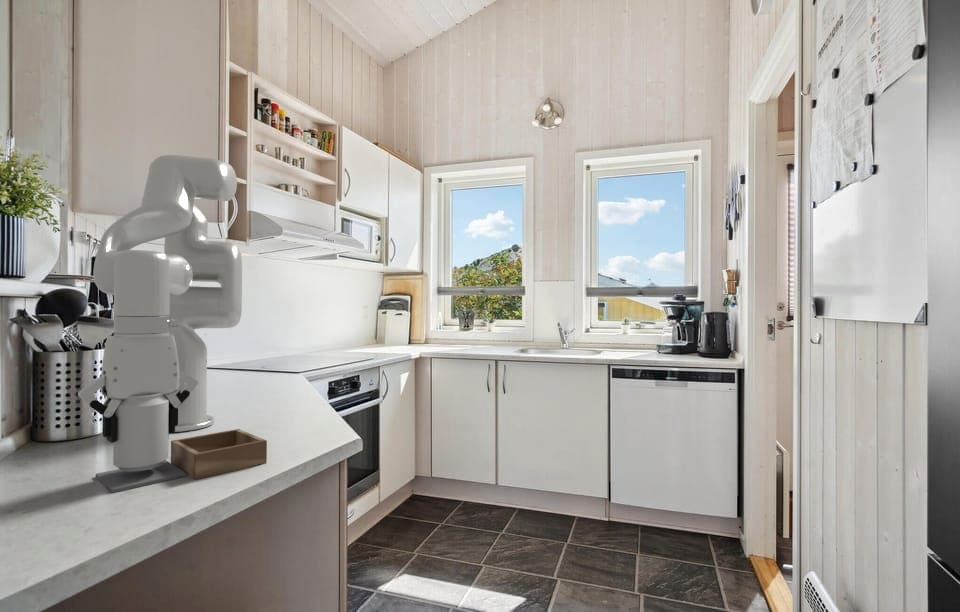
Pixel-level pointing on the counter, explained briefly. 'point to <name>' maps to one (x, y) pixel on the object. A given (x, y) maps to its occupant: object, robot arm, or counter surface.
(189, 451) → the walnut box
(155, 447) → the can
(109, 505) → the counter surface
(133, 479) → the rubber mat
